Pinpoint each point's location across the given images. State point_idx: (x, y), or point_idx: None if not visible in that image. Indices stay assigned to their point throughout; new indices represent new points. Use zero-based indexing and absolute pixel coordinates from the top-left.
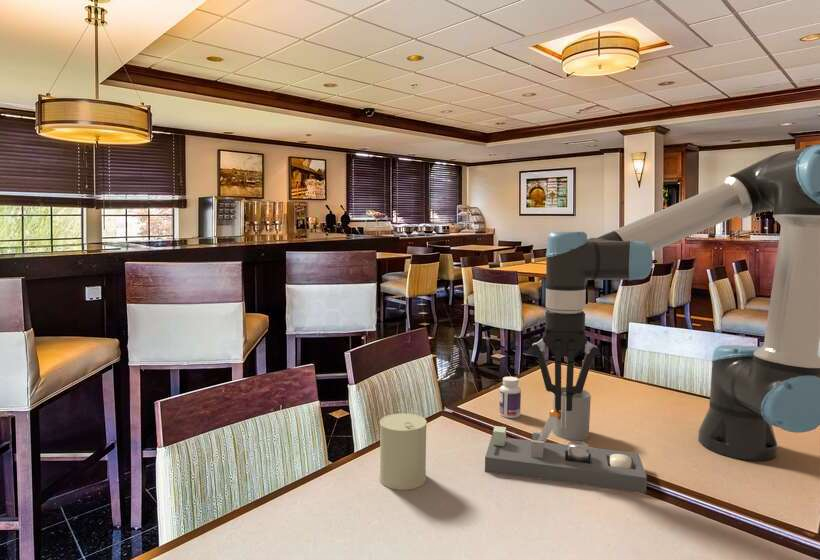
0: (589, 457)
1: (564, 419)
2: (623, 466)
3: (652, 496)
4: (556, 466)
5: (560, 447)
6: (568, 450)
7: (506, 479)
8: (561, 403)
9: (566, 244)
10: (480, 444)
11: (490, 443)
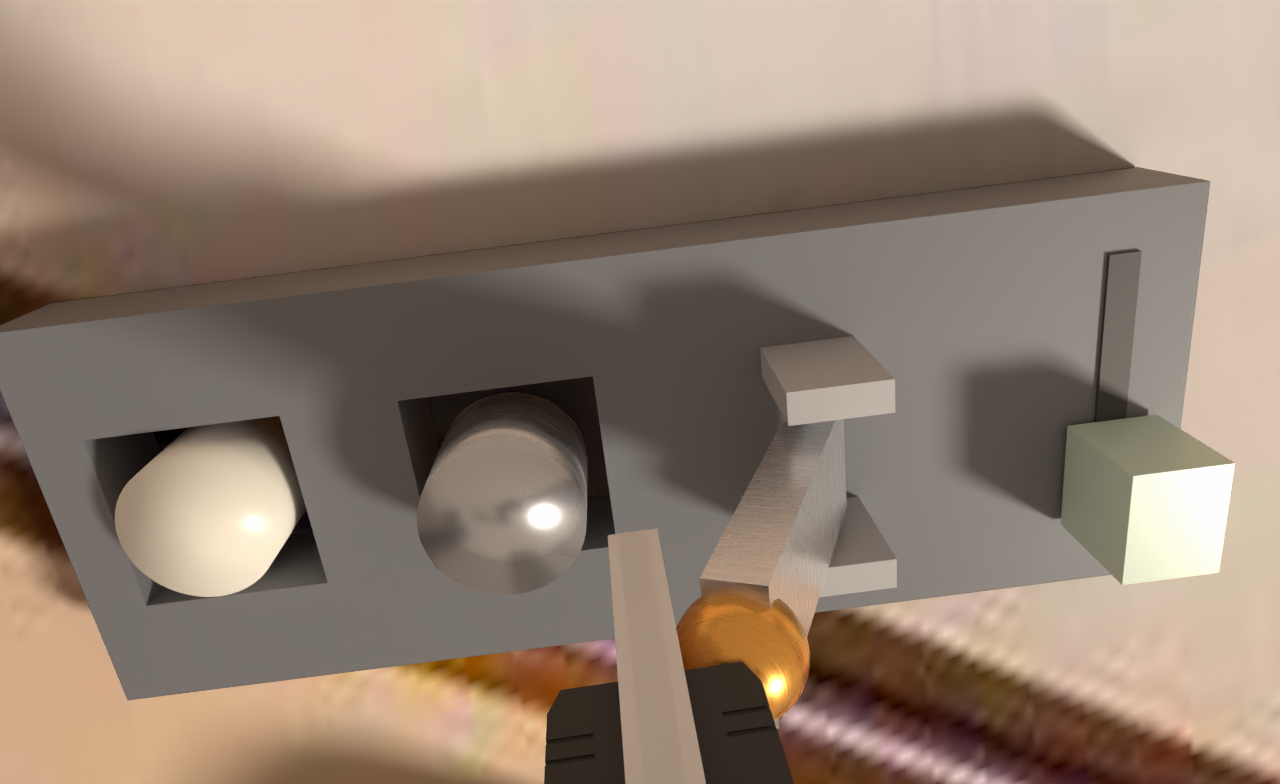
0: None
1: (627, 586)
2: (174, 449)
3: (4, 276)
4: (645, 251)
5: None
6: (580, 472)
7: (976, 108)
8: (687, 711)
9: None
10: None
11: None
